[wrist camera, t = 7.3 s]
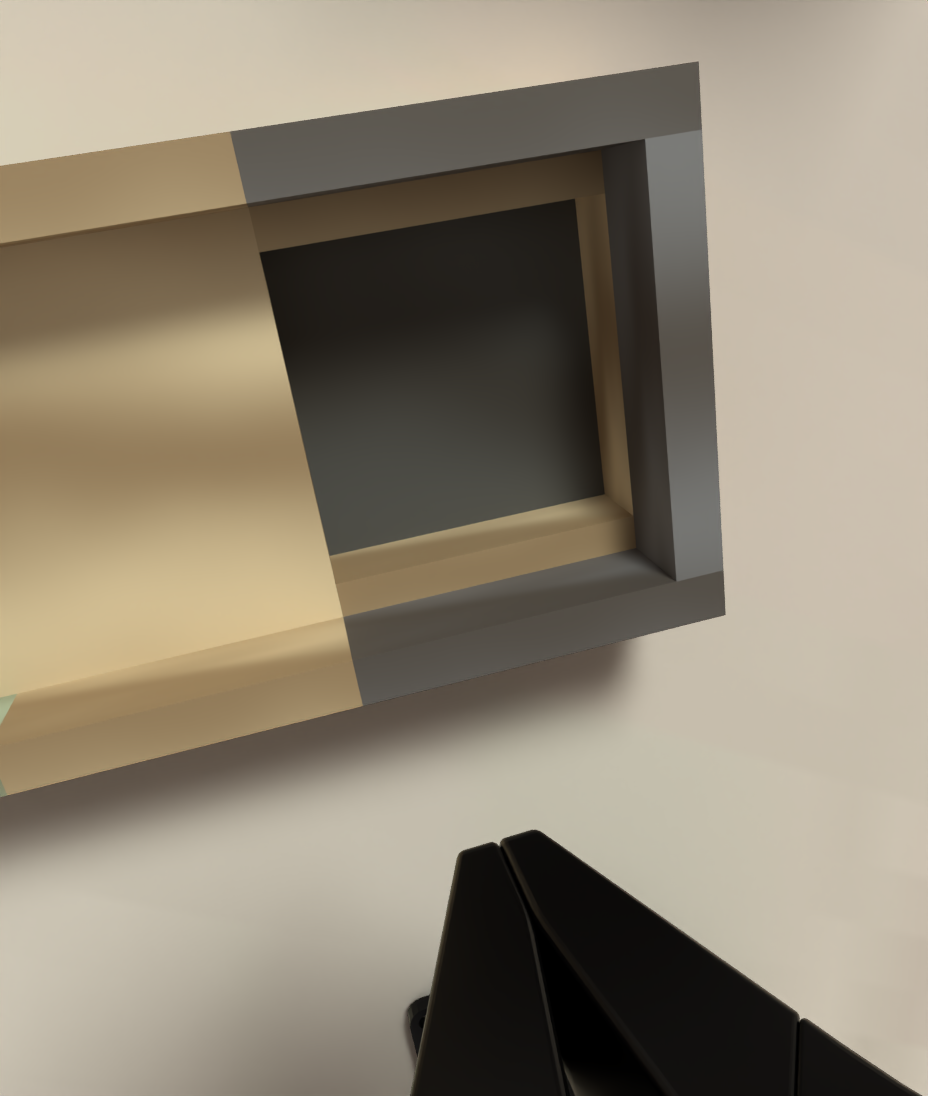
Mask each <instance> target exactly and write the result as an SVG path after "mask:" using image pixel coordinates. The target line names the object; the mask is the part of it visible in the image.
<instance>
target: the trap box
mask: <svg viewBox="0 0 928 1096" xmlns="http://www.w3.org/2000/svg"><path fill="white" fill-rule="evenodd" d="M723 615H725V594H724V574H723V553H722V533H721V512H720V492H719V471H718V451H717V431H716V410H715V390H714V369H713V349H712V328H711V308H710V287H709V267H708V246H707V226H706V205H705V185H704V164H703V144H702V123H701V103H700V82H699V62H692V63H685V64H679V65H672V66H665V67H659V68H652V69H645V70H639V71H632V72H625V73H619V74H612V75H605V76H598V77H592V78H585V79H578V80H572V81H565V82H558V83H552V84H545V85H538V86H532V87H525V88H518V89H512V90H505V91H498V92H492V93H485V94H478V95H471V96H465V97H458V98H451V99H445V100H438V101H431V102H425V103H418V104H411V105H405V106H398V107H391V108H385V109H378V110H371V111H365V112H358V113H351V114H344V115H338V116H331V117H324V118H318V119H311V120H304V121H298V122H291V123H284V124H278V125H271V126H264V127H258V128H251V129H244V130H238V131H231V132H224V133H217V134H211V135H204V136H197V137H191V138H184V139H177V140H171V141H164V142H157V143H151V144H144V145H137V146H131V147H124V148H117V149H111V150H104V151H97V152H90V153H84V154H77V155H70V156H64V157H57V158H50V159H44V160H37V161H30V162H24V163H17V164H10V165H4V166H0V797H3V796H7V795H11V794H15V793H19V792H23V791H27V790H31V789H35V788H39V787H43V786H47V785H51V784H55V783H59V782H63V781H67V780H71V779H75V778H79V777H83V776H87V775H91V774H95V773H99V772H103V771H107V770H111V769H115V768H118V767H122V766H126V765H130V764H134V763H138V762H142V761H146V760H150V759H154V758H158V757H162V756H166V755H170V754H174V753H178V752H182V751H186V750H190V749H194V748H198V747H202V746H206V745H210V744H214V743H218V742H222V741H226V740H230V739H234V738H238V737H242V736H246V735H250V734H254V733H258V732H262V731H266V730H270V729H274V728H278V727H282V726H286V725H290V724H294V723H298V722H301V721H305V720H309V719H313V718H317V717H321V716H325V715H329V714H333V713H337V712H341V711H345V710H349V709H353V708H357V707H361V706H365V705H369V704H373V703H377V702H381V701H385V700H389V699H393V698H397V697H401V696H405V695H409V694H413V693H417V692H421V691H425V690H429V689H433V688H437V687H441V686H445V685H449V684H453V683H457V682H461V681H465V680H469V679H473V678H477V677H481V676H485V675H488V674H492V673H496V672H500V671H504V670H508V669H512V668H516V667H520V666H524V665H528V664H532V663H536V662H540V661H544V660H548V659H552V658H556V657H560V656H564V655H568V654H572V653H576V652H580V651H584V650H588V649H592V648H596V647H600V646H604V645H608V644H612V643H616V642H620V641H624V640H628V639H632V638H636V637H640V636H644V635H648V634H652V633H656V632H660V631H664V630H668V629H672V628H675V627H679V626H683V625H687V624H691V623H695V622H699V621H703V620H707V619H711V618H715V617H719V616H723Z"/></svg>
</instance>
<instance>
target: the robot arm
mask: <svg viewBox="0 0 928 1096" xmlns="http://www.w3.org/2000/svg"><path fill="white" fill-rule="evenodd" d="M424 1016H426V1017H424ZM408 1018H409V1024H410V1029H411V1033H412V1037H413V1041H414V1045H415V1049H416V1053H417V1057H418V1059H417V1064H416V1069H415V1074H414V1079H413V1084H412V1089H411V1094H410V1096H922V1095H920V1094H918V1093H917V1092H915V1091H913V1090H912V1089H910V1088H908V1087H907V1086H905V1085H903V1084H902V1083H900V1082H899V1081H897V1080H896V1079H894V1078H893V1077H891V1076H890V1075H888V1074H887V1073H885V1072H884V1071H882V1070H881V1069H879V1068H878V1067H876V1066H875V1065H873V1064H872V1063H870V1062H869V1061H867V1060H866V1059H864V1058H863V1057H861V1056H860V1055H858V1054H857V1053H855V1052H854V1051H852V1050H851V1049H849V1048H848V1047H846V1046H845V1045H843V1044H842V1043H841V1042H839V1041H838V1040H836V1039H835V1038H833V1037H832V1036H831V1035H829V1034H828V1033H826V1032H825V1031H824V1030H822V1029H821V1028H819V1027H818V1026H816V1025H815V1024H814V1023H812V1022H811V1021H809V1020H808V1019H806V1018H803V1019H801V1020H800V1018H799V1014H798V1013H797V1012H796V1011H795V1010H793V1009H792V1008H790V1007H789V1006H788V1005H786V1004H785V1003H783V1002H782V1001H781V1000H779V999H778V998H776V997H775V996H773V995H772V994H771V993H769V992H768V991H766V990H765V989H763V988H762V987H761V986H759V985H758V984H756V983H755V982H754V981H752V980H751V979H749V978H748V977H746V976H745V975H744V974H742V973H741V972H739V971H738V970H737V969H735V968H734V967H732V966H731V965H729V964H728V963H727V962H725V961H724V960H722V959H721V958H719V957H718V956H717V955H715V954H714V953H712V952H711V951H710V950H708V949H707V948H705V947H704V946H702V945H701V944H700V943H698V942H697V941H695V940H694V939H693V938H691V937H690V936H688V935H687V934H685V933H684V932H683V931H681V930H680V929H678V928H677V927H676V926H674V925H673V924H671V923H670V922H668V921H667V920H666V919H664V918H663V917H661V916H660V915H658V914H657V913H656V912H654V911H653V910H651V909H650V908H649V907H647V906H646V905H644V904H643V903H641V902H640V901H639V900H637V899H636V898H634V897H633V896H632V895H630V894H629V893H627V892H626V891H624V890H623V889H622V888H620V887H619V886H617V885H616V884H615V883H613V882H612V881H610V880H609V879H607V878H606V877H605V876H603V875H602V874H600V873H599V872H597V871H596V870H595V869H593V868H592V867H590V866H589V865H588V864H586V863H585V862H583V861H582V860H580V859H579V858H578V857H576V856H575V855H573V854H572V853H571V852H569V851H568V850H566V849H565V848H563V847H562V846H561V845H559V844H558V843H556V842H555V841H553V840H552V839H551V838H549V837H548V836H546V835H545V834H544V833H542V832H541V831H538V830H530V831H526V832H523V833H520V834H516V835H513V836H510V837H506V838H504V839H502V841H501V842H500V846H498V845H497V844H496V843H494V842H490V843H486V844H483V845H480V846H476V847H473V848H470V849H466V850H463V851H461V852H460V853H459V855H458V857H457V860H456V865H455V871H454V876H453V881H452V886H451V891H450V896H449V901H448V906H447V911H446V916H445V921H444V926H443V932H442V937H441V942H440V947H439V952H438V957H437V962H436V967H435V972H434V977H433V982H432V987H431V993H430V995H429V996H425V997H422V998H420V999H418V1000H416V1001H415V1002H414V1003H413V1004H411V1006H410V1008H409V1010H408Z"/></svg>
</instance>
